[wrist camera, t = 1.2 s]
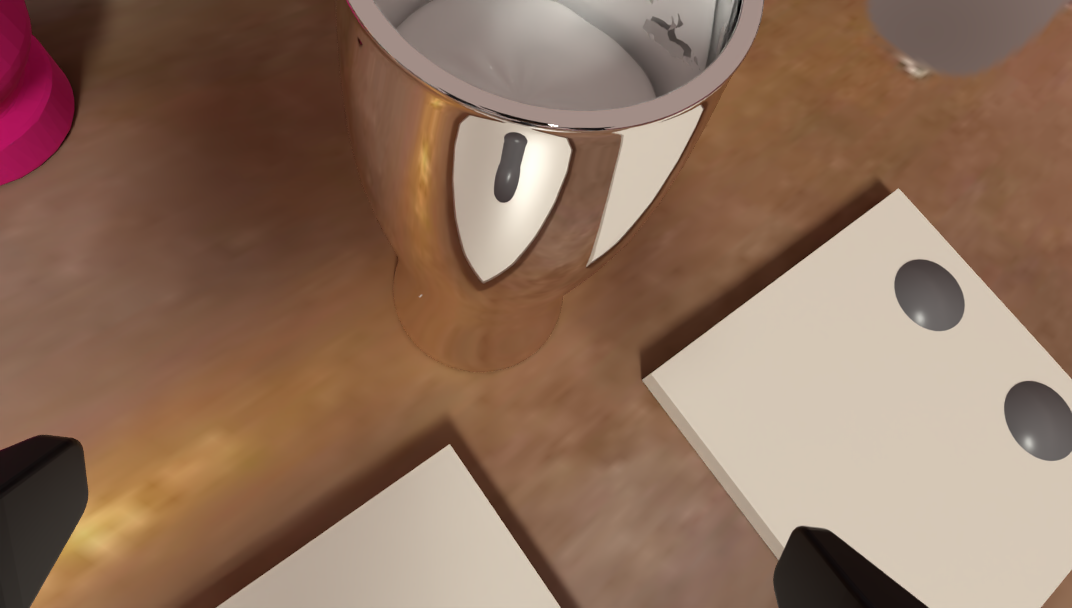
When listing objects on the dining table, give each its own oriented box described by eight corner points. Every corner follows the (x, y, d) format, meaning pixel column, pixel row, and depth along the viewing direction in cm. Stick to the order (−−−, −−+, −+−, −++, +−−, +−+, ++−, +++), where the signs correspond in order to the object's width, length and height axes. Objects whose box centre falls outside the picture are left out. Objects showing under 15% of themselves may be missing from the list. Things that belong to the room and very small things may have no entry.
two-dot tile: (1126, 471, 25) (1154, 469, 24) (908, 731, 21) (931, 741, 20) (882, 200, 28) (898, 188, 27) (641, 379, 23) (651, 373, 22)
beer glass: (474, 172, 25) (537, -281, 11) (609, 291, 24) (859, -34, 10) (338, 292, 23) (198, -96, 9) (483, 428, 22) (586, 243, 8)
